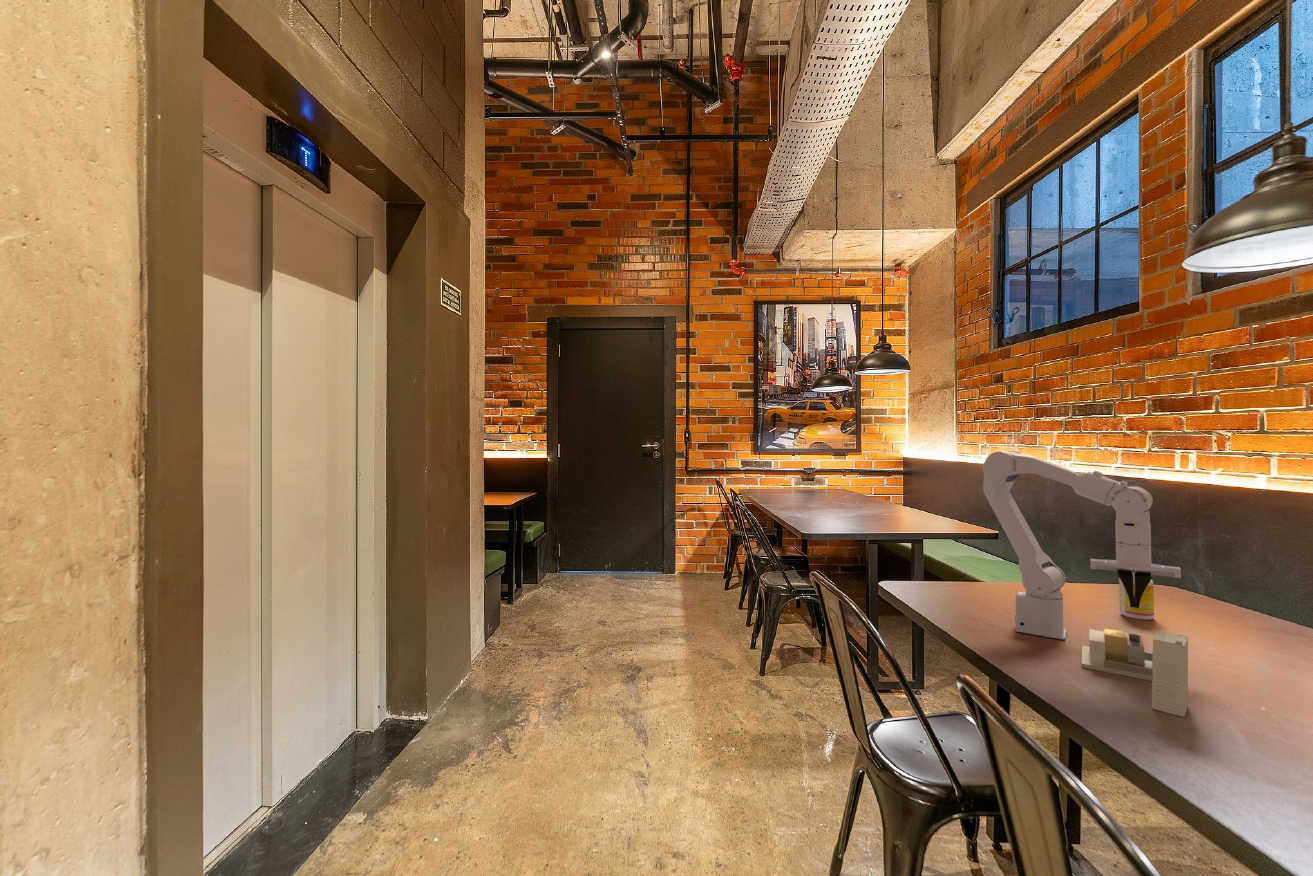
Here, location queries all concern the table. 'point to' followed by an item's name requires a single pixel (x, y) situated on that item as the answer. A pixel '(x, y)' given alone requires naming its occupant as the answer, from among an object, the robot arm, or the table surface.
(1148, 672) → the vise
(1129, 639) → the block
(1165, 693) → the skincare box
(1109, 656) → the block
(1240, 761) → the table surface
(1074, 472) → the robot arm
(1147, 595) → the supplement bottle
